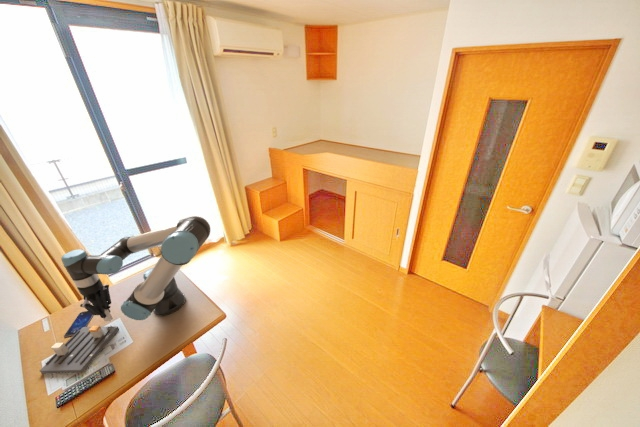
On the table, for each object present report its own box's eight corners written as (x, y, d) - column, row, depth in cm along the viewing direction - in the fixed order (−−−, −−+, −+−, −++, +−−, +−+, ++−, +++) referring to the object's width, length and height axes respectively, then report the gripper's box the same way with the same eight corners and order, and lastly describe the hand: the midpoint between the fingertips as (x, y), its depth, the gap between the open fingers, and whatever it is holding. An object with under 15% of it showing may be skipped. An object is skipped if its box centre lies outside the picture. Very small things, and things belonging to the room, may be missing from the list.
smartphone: (97, 308, 124) (82, 333, 111) (98, 309, 124) (83, 334, 112) (79, 312, 122) (62, 337, 109) (80, 313, 122) (63, 338, 110)
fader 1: (69, 350, 102) (63, 342, 99) (64, 355, 100) (58, 347, 98) (61, 350, 102) (55, 342, 99) (56, 355, 100) (50, 347, 97)
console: (118, 329, 114) (116, 325, 113) (82, 372, 96) (79, 369, 95) (84, 329, 113) (82, 326, 112) (41, 373, 95) (38, 369, 94)
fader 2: (104, 333, 109) (99, 325, 107) (100, 337, 107) (95, 330, 105) (97, 333, 109) (92, 325, 107) (93, 337, 107) (88, 330, 105)
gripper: (91, 272, 109) (111, 309, 119) (65, 293, 97) (89, 332, 108) (108, 272, 109) (126, 308, 120) (84, 293, 97) (106, 332, 108)
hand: (108, 319), depth 114 cm, fingers closed
